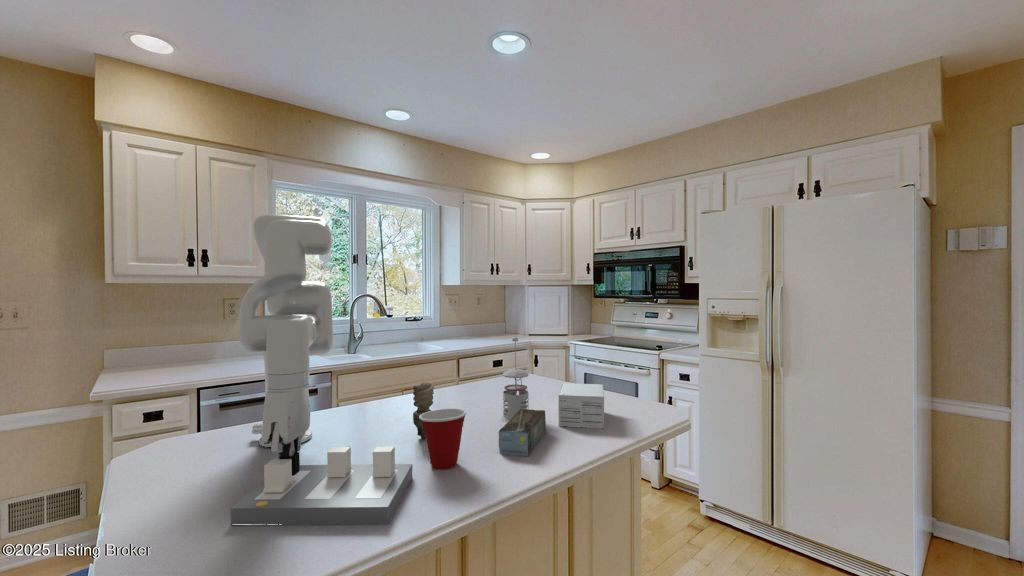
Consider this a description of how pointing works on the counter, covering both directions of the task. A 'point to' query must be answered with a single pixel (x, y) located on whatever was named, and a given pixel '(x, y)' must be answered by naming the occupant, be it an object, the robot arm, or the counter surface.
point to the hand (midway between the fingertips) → (289, 473)
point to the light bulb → (422, 404)
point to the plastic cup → (443, 436)
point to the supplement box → (581, 405)
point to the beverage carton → (522, 432)
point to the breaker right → (383, 461)
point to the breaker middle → (339, 461)
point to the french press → (514, 392)
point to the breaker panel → (327, 498)
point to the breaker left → (278, 475)
